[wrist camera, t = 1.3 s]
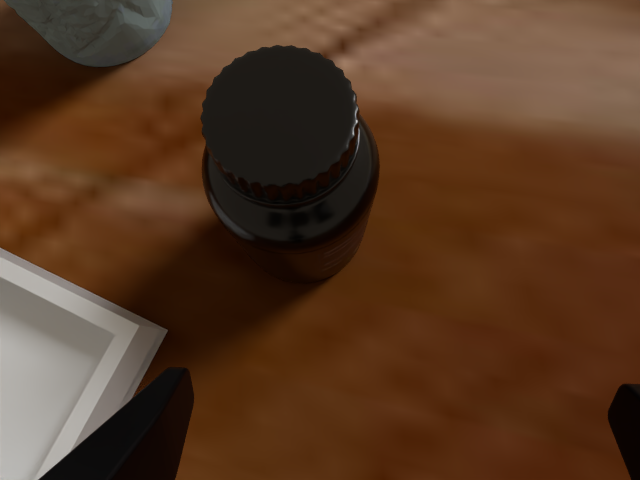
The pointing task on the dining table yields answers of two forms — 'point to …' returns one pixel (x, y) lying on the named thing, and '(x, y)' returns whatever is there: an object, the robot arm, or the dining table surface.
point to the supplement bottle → (289, 161)
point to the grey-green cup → (97, 27)
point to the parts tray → (61, 365)
